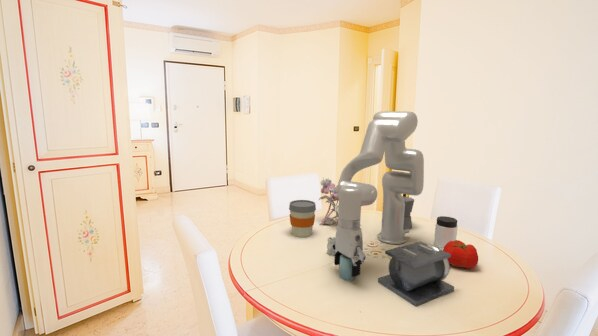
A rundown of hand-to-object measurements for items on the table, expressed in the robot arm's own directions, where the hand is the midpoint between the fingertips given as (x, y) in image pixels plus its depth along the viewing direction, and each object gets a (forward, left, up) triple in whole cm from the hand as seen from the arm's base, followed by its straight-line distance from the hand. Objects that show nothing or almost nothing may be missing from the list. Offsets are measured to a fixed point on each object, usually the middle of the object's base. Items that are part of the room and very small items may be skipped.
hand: (346, 269), depth 112 cm
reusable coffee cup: (-7, -43, -3) cm, 44 cm away
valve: (-10, -16, -3) cm, 19 cm away
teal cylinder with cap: (0, 0, -3) cm, 3 cm away
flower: (-32, -45, -3) cm, 56 cm away
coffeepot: (-58, -28, -3) cm, 65 cm away
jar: (-56, -2, -3) cm, 56 cm away
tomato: (-44, +13, -3) cm, 46 cm away
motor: (-16, +16, -3) cm, 23 cm away
